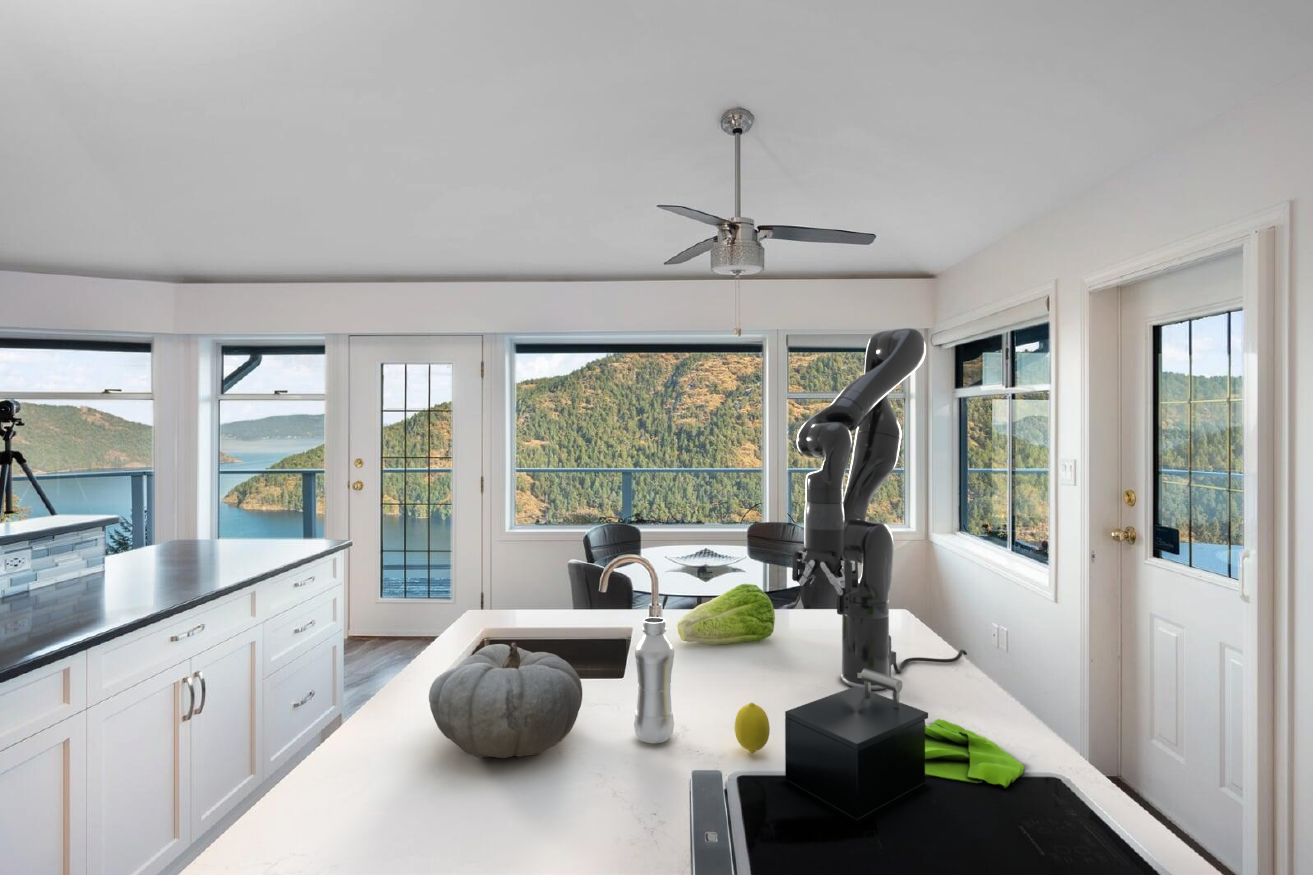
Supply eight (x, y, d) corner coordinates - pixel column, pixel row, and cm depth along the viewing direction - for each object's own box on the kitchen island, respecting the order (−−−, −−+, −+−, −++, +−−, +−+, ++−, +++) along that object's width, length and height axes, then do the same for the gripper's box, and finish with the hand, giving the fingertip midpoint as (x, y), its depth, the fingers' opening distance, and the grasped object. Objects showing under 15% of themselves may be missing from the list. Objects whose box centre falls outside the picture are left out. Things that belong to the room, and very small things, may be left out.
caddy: (852, 753, 105) (852, 692, 105) (925, 787, 95) (925, 719, 95) (785, 784, 96) (784, 717, 96) (857, 825, 85) (857, 750, 85)
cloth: (1025, 799, 92) (1025, 781, 92) (864, 761, 102) (864, 746, 102) (1025, 739, 109) (1025, 725, 109) (888, 713, 120) (887, 699, 120)
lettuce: (694, 667, 152) (672, 653, 165) (785, 639, 160) (757, 627, 174) (683, 607, 152) (662, 598, 166) (774, 582, 160) (747, 575, 174)
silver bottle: (633, 731, 113) (632, 615, 113) (672, 730, 113) (672, 614, 113) (635, 749, 106) (634, 626, 106) (676, 747, 107) (676, 625, 107)
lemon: (769, 762, 102) (768, 711, 102) (733, 759, 103) (733, 708, 103) (770, 746, 107) (770, 697, 107) (736, 743, 108) (736, 695, 108)
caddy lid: (855, 690, 105) (855, 659, 105) (928, 718, 95) (928, 683, 95) (784, 716, 96) (784, 682, 96) (857, 750, 85) (857, 711, 85)
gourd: (415, 776, 93) (430, 648, 96) (428, 730, 116) (439, 629, 120) (590, 772, 99) (598, 652, 102) (568, 729, 123) (575, 633, 126)
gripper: (867, 527, 123) (867, 614, 123) (808, 520, 135) (808, 599, 135) (841, 531, 119) (841, 620, 119) (783, 522, 130) (783, 604, 130)
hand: (824, 609), depth 127 cm, fingers open, 8 cm apart
